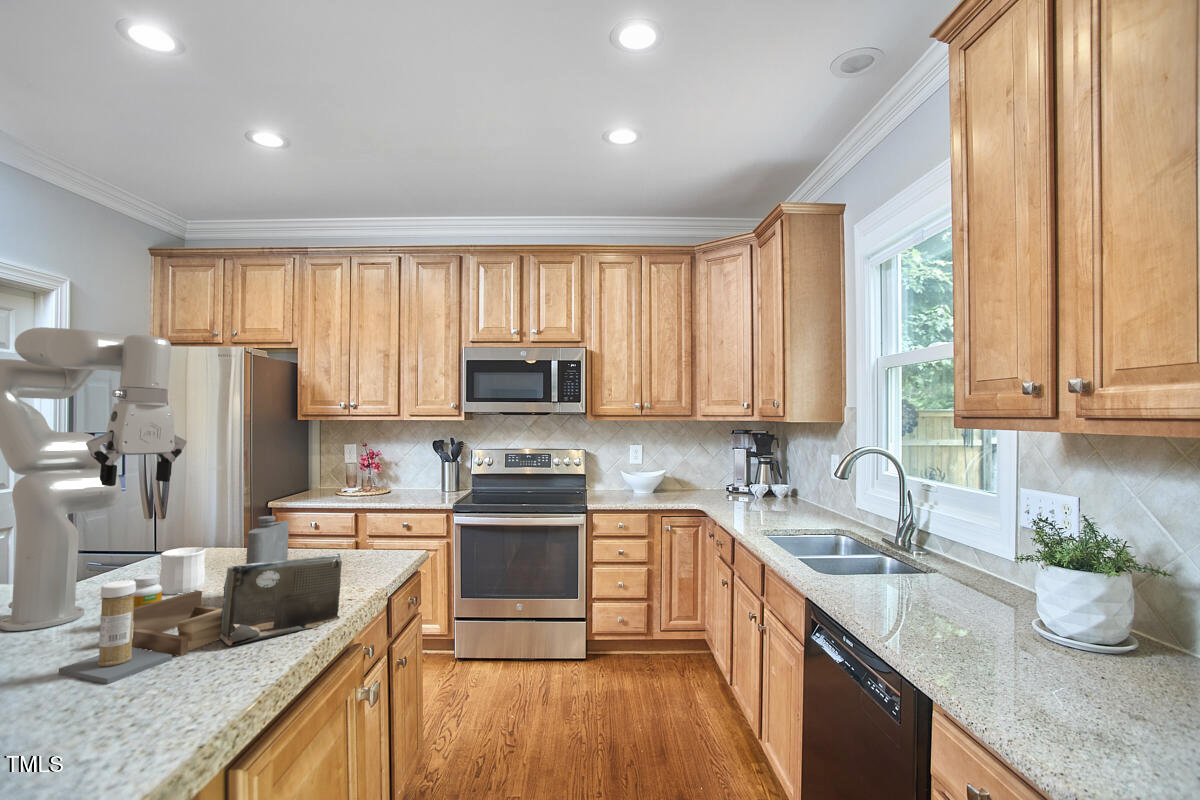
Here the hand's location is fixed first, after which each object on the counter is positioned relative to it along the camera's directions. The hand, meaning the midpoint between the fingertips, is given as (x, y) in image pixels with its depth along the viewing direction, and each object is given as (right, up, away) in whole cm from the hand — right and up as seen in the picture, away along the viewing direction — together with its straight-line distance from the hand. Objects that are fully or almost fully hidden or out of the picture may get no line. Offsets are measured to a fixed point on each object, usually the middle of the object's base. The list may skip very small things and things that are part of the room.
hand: (136, 483), depth 110 cm
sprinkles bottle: (+8, -29, -15) cm, 33 cm away
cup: (-14, -32, +30) cm, 46 cm away
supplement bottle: (-4, -31, +6) cm, 31 cm away
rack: (+10, -30, 0) cm, 32 cm away
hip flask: (+12, -32, +22) cm, 41 cm away
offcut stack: (+16, -30, -2) cm, 34 cm away
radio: (+27, -31, +5) cm, 41 cm away
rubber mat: (+9, -30, -14) cm, 34 cm away
